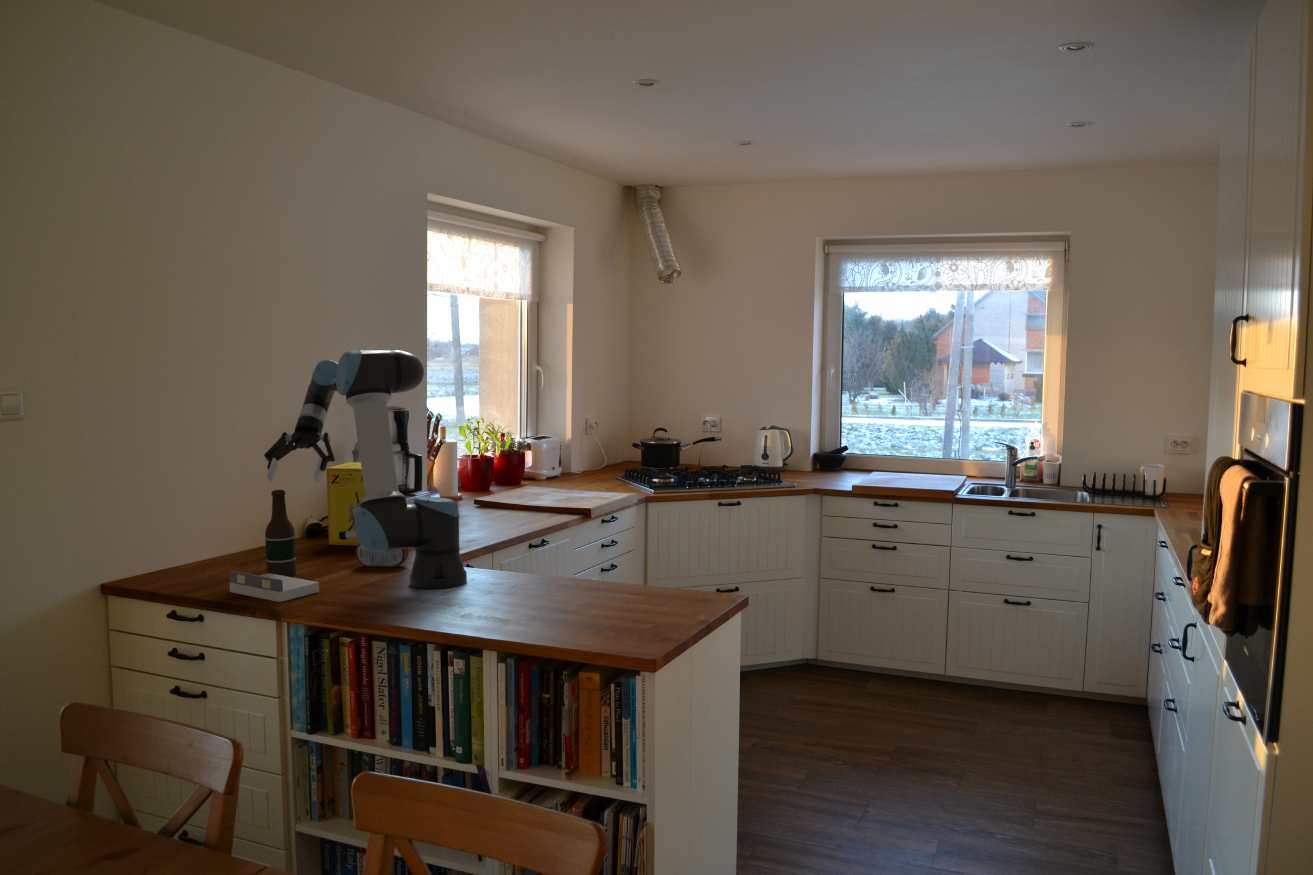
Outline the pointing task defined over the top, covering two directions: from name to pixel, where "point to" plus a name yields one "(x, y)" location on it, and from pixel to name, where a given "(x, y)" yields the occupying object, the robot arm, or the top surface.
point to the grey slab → (271, 586)
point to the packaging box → (344, 502)
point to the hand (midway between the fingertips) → (292, 478)
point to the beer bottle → (280, 539)
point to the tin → (381, 557)
